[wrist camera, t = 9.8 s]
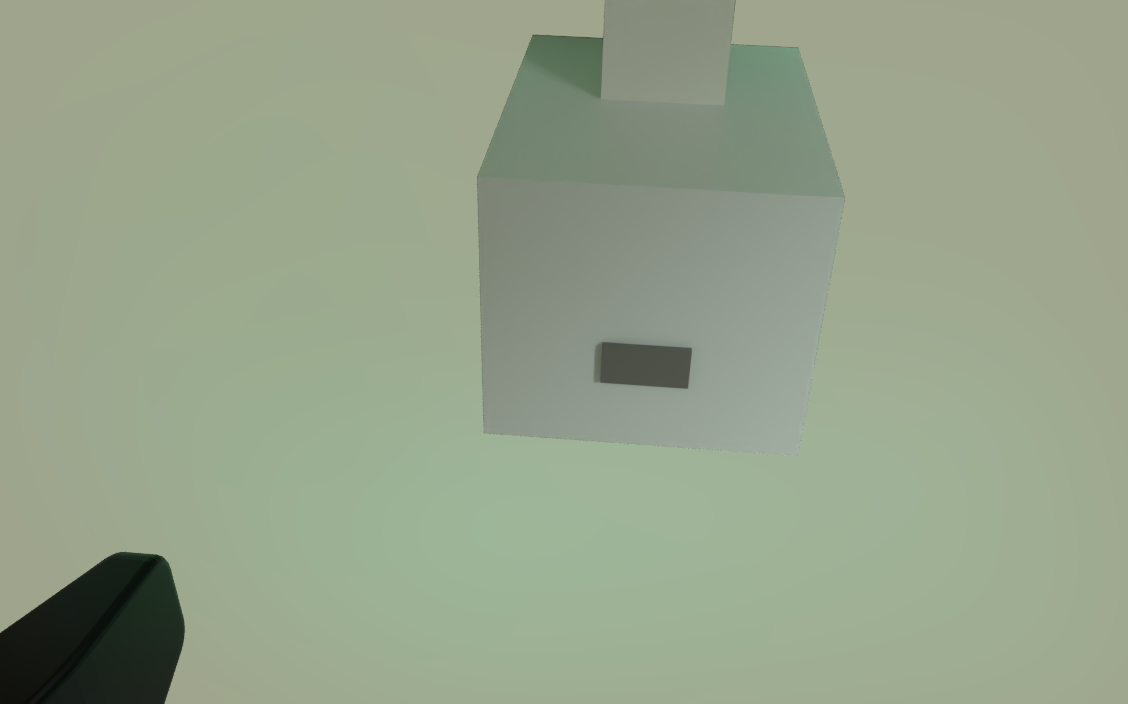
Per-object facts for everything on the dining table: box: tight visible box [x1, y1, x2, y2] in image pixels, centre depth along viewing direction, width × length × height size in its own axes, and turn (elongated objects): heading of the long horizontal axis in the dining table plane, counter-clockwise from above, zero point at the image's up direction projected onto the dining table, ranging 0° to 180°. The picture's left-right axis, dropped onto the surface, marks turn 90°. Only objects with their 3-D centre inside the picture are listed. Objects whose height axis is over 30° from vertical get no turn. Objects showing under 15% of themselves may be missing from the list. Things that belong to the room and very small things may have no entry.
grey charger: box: [477, 0, 845, 456], centre depth 16 cm, size 4×6×6 cm
